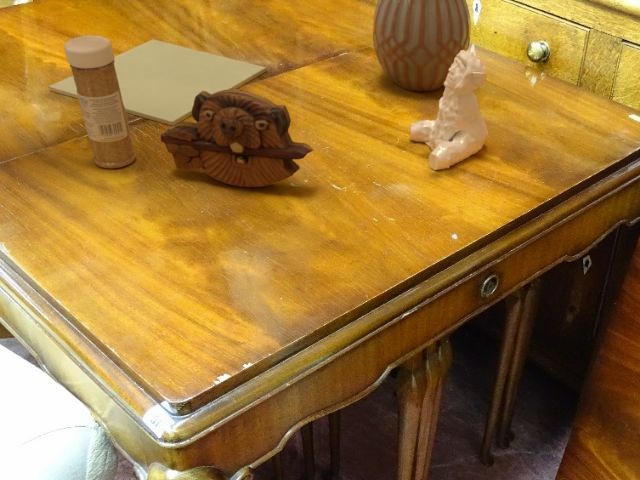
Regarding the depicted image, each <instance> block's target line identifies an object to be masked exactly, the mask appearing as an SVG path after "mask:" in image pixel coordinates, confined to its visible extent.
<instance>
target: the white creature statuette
mask: <svg viewBox="0 0 640 480" xmlns="http://www.w3.org/2000/svg"><path fill="white" fill-rule="evenodd" d="M486 81H487V73H486V66H485V65H484V64H483V60H482V59H480V58H478V56H477V55H475V54H473V52H471V51H470V50H469V49H468V50H467V51H465V50H461V51H460V52H459V53H458V54H457V56H456V57H455V58H454V63H453V64H452V65H451V68H449V73H448V74H447V77H446V81H445V82H444V85H443V86H444V91H443V92H442V96H441V97H440V99H439V100H438V112H437V114H436V115H437V117H436V119H431V120H430V119H423V120H422V119H420V120H418V121H415V122H412V123H411V122H410V125H409V126H410V127H409V137H410V138H409V139H410V141H413V142H415V143H416V142H417V143H418V142H419V143H424V144H425V145H426V146H428V147H429V149H430V151H431V152H430V154H429V155H428V165H429V167H430V169H432V170H434V171H437V170H438V171H441V170H445V169H450V167H451V166H454V165H455V164H458V163H459V162H463V161H464V160H466V159H468V158H469V157H471V156H473V155H475V154H477V153H478V152H479V150H481V149H483V145H484V144H485V143H486V141H487V139H488V137H489V134H490V133H489V130H488V127H487V124H486V122H485V118H484V116H483V115H482V112H481V111H480V109H481V107H480V105H479V101H478V99H479V98H478V97H477V96H476V95H477V94H475V90H477V89H478V88H479V86H481V85H484V83H485V82H486Z"/></svg>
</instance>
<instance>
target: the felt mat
mask: <svg viewBox="0 0 640 480" xmlns="http://www.w3.org/2000/svg"><path fill="white" fill-rule="evenodd" d="M114 61H115V63H114V66H115V71H116V75H117V79H118V83H119V87H120V92H121V96H122V101H123V104H124V107H125V111H126V114H130V115H134V116H137V117H140V118H144V119H147V120H151V121H154V122H158V123H162V124H165V125H168V126H170V127H172V126H176V125H178V124H179V123H181V122H184V121H185V120H186V119H188V118H190V117H192V107H193V105H194V100H195V97H196V96H197V95H198V94H199V93H200V92H201V91H206V92H208V93H210V94H213V93H216V92H219V91H222V90H228V89H237V90H238V89H239V88H241V87H242V86H244V85H246V84H247V83H249V82H251V81H253V80H254V79H256V78H258V77H259V76H261V75H263V74H265V73H266V72H267V71H268V70H267V67H266V66H262V65H259V64H255V63H250V62H246V61H242V60H238V59H233V58H231V57H226V56H222V55H218V54H214V53H211V52H206V51H202V50H199V49H194V48H190V47H187V46H181V45H178V44H175V43H174V44H173V43H169V42H165V41H162V40H157V39H150V40H148V41H146V42H144V43H142V44H139V45H138V46H135V47H132V48H130V49H127V50H126V51H124V52H121V53H119V54H118V55H114ZM48 89H49V91H50V92H53V93H56V94H60V95H63V96H67V97H71V98H74V99H78V95H77V89H76V85H75V81H74V77H73V75H71V76H68V77H66V78H63V79H62V80H60V81H57V82H55V83H53V84H51V85H49V86H48ZM78 100H79V99H78Z"/></svg>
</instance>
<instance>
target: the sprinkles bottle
mask: <svg viewBox="0 0 640 480" xmlns="http://www.w3.org/2000/svg"><path fill="white" fill-rule="evenodd" d="M63 48H64V49H63V50H64V54H65V57H66V61H67V63H68V64H69V67H70V69H71V74H72V76H73V77H74V81H75V85H76V89H77V95H78V102H79V106H80V110H81V115H82V118H83V123H84V126H85V130H86V134H87V137H88V139H89V144H90V147H91V151H92V155H93V159H92V160H93V163H94V164H95V165H97V166H98V167H100V168H105V169H119V168H123V167H126V166H128V165H131V163H133V162H134V161H135V160H136V152H135V150H134V148H133V143H132V138H131V134H130V125H129V121H128V116H127V113H126V111H125V107H124V104H123V101H122V96H121V92H120V87H119V83H118V79H117V75H116V71H115V66H114V63H115V61H114V57H115V53H114V49H113V45H112V42H111V40H110V39H109V38H107V37H105V36H101V35H82V36H77V37H73V38H71V39H69V40H67V41H66V42H65V43H64V44H63Z"/></svg>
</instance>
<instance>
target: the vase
mask: <svg viewBox="0 0 640 480" xmlns="http://www.w3.org/2000/svg"><path fill="white" fill-rule="evenodd" d="M374 9H375V10H374V15H373V23H372V40H373V48H374V52H375V55H376V58H377V61H378V63H379V65H380V67H381V68H382V70H383V71H384V73H385V74H386V75H387V76H388V77H389V78H390V79H391V80H392V81H393V82H394V83H395V84H396V85H398V86H399V87H400V88H402V89H405V90H408V91H411V92H412V91H413V92H431V91H435V90H439V89H441V88H442V87H443V86H444V82H445V81H446V77H447V74H448V73H449V68H451V65H452V64H453V63H454V58H455V57H456V56H457V54H458V53H459V52H460V51H461V50H465V51H467V50H469V48H470V42H471V34H472V33H471V32H472V31H471V29H472V28H471V27H472V24H471V14H470V9H469V6H468V2H467V0H378V1H377V4H376V6H375V8H374Z"/></svg>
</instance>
